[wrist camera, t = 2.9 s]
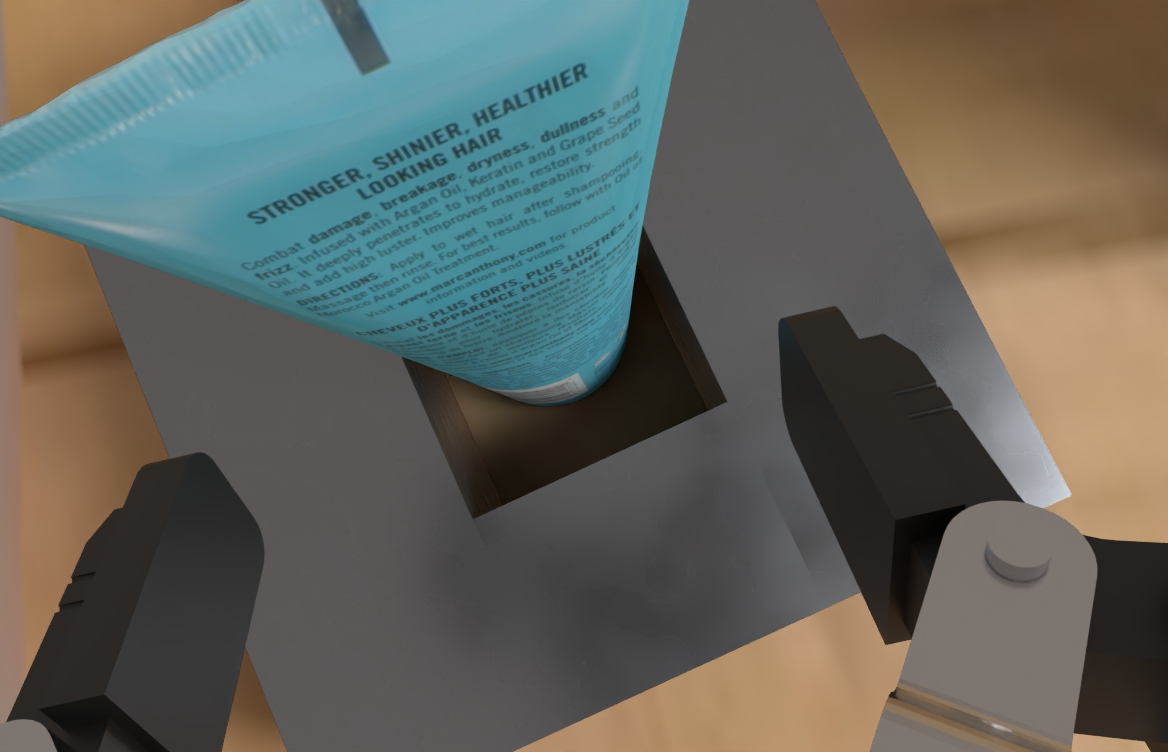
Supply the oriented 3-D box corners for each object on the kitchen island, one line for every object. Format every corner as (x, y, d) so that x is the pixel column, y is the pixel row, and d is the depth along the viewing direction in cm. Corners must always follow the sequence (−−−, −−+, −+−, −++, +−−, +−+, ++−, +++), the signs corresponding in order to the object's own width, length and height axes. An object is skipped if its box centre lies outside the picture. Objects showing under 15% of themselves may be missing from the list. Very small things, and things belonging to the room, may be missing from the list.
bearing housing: (696, -76, 27) (712, -196, 22) (981, 485, 25) (1072, 495, 20) (144, 183, 27) (35, 123, 22) (383, 760, 25) (322, 838, 20)
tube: (610, 208, 26) (565, -455, 7) (688, 338, 26) (873, 11, 6) (408, 326, 26) (-196, -11, 7) (483, 458, 26) (56, 489, 6)
